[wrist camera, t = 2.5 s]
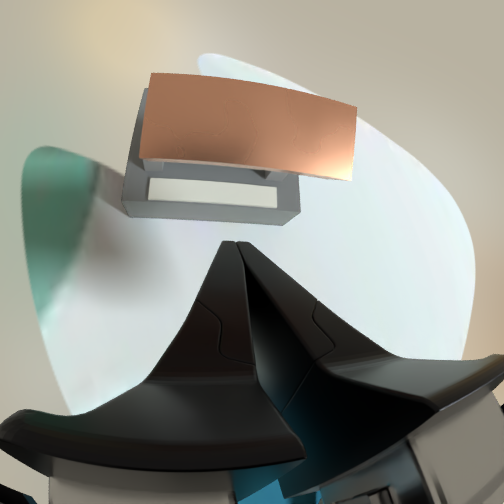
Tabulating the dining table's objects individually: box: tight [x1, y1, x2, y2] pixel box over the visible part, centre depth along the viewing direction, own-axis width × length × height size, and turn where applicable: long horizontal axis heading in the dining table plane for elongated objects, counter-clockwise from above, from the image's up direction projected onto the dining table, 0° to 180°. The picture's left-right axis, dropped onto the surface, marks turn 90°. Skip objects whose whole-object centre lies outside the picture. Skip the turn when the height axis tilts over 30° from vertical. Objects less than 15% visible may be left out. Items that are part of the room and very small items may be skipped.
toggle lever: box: [139, 73, 357, 181], centre depth 11 cm, size 2×6×9 cm, turn 90°
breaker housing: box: [121, 88, 301, 226], centre depth 16 cm, size 8×10×6 cm
